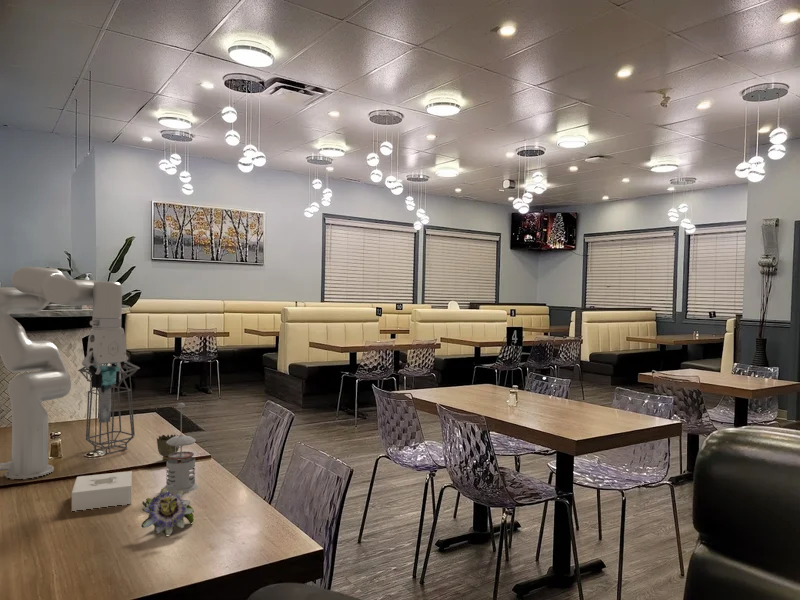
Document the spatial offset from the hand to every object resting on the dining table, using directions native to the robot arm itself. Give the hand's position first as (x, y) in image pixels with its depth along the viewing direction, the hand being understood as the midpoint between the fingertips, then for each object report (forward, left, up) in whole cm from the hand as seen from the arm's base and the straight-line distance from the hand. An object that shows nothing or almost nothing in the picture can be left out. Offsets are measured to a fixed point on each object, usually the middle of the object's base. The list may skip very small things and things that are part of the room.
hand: (105, 385), depth 167 cm
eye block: (0, -10, -30) cm, 32 cm away
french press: (+20, -7, -30) cm, 37 cm away
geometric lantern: (-1, +43, -30) cm, 52 cm away
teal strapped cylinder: (0, 0, -10) cm, 10 cm away
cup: (+18, +23, -30) cm, 42 cm away
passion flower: (+15, -38, -30) cm, 51 cm away
